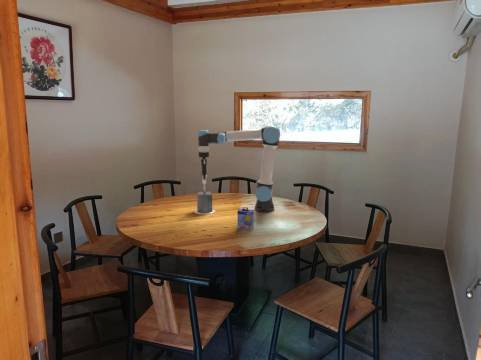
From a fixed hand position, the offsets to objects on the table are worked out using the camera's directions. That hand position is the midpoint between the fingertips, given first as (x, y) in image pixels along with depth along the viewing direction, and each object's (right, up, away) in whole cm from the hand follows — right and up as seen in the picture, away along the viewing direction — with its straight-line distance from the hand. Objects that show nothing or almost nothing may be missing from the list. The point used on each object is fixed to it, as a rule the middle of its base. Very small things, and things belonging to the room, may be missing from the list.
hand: (204, 183), depth 272 cm
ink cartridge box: (+30, -29, -34) cm, 54 cm away
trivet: (0, -22, +4) cm, 22 cm away
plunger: (0, -12, +2) cm, 12 cm away
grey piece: (0, -21, +5) cm, 21 cm away
